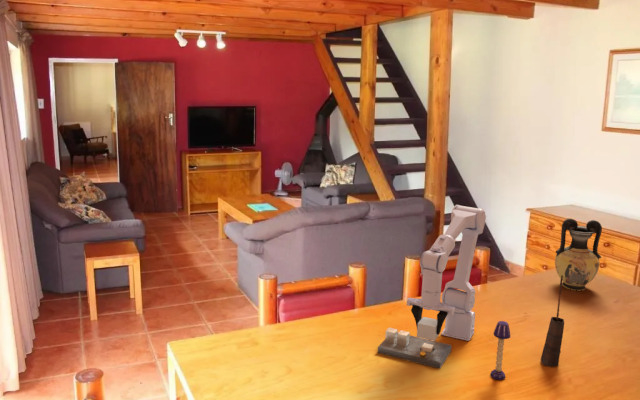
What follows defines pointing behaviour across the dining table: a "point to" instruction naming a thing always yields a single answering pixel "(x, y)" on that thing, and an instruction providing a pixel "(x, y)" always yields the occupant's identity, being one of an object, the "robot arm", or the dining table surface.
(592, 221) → the amphora
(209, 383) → the dining table surface
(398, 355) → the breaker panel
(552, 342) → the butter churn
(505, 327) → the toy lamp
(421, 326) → the cap
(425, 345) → the button
